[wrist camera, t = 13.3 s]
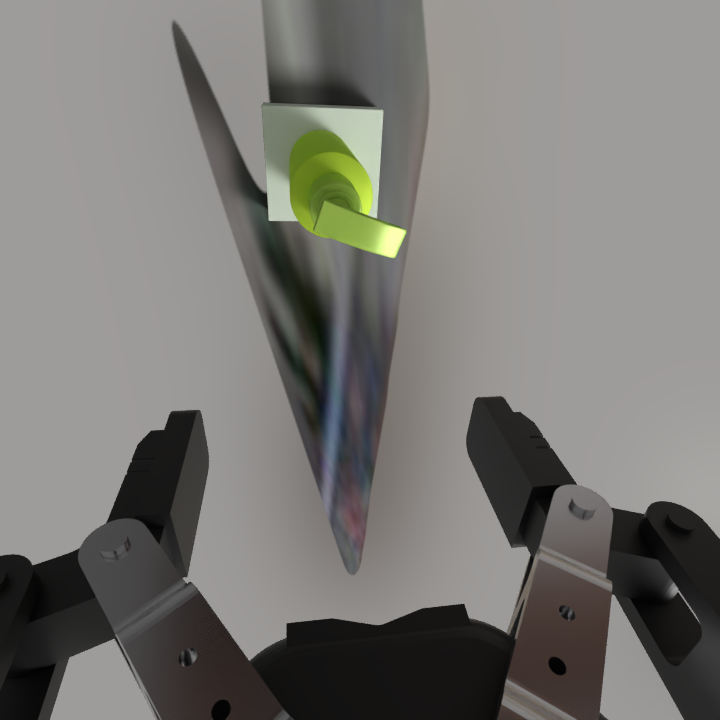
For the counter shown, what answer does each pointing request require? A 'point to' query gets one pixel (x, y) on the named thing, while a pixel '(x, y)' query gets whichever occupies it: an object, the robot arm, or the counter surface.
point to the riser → (296, 120)
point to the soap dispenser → (337, 195)
